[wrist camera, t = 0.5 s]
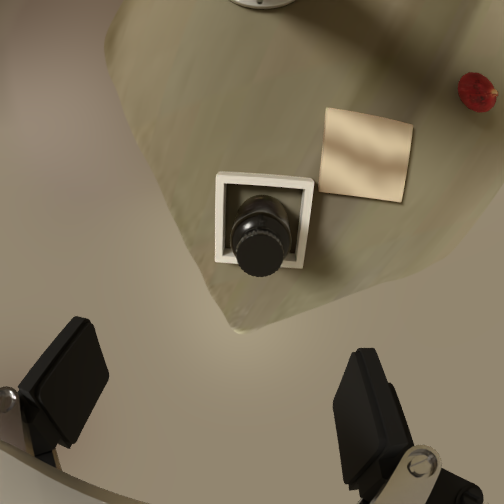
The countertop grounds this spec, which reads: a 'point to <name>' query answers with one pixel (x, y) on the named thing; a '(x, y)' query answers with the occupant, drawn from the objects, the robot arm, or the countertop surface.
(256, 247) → the supplement bottle
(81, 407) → the robot arm
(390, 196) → the board
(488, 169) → the countertop surface
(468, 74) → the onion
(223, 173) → the white square frame
